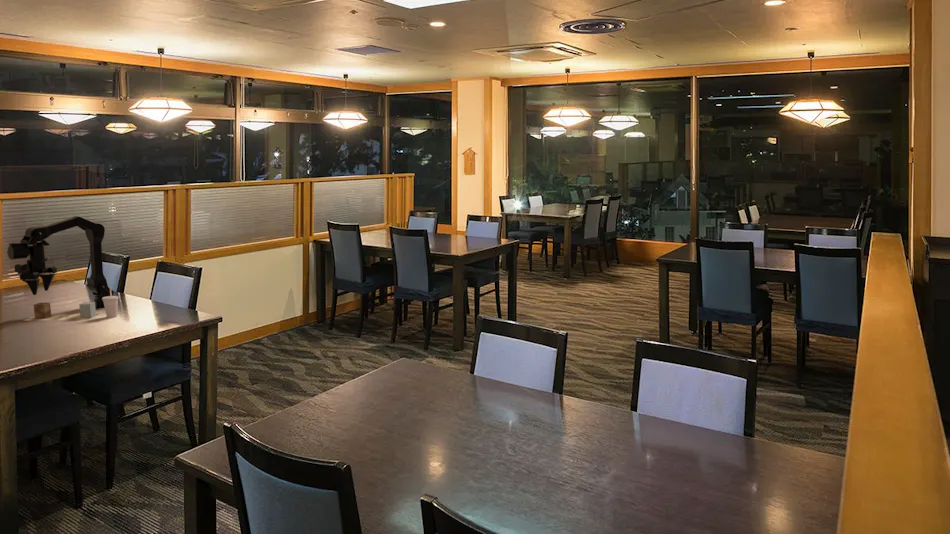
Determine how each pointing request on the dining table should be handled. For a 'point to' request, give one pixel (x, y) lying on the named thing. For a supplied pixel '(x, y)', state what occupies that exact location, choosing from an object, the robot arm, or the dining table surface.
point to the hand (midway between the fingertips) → (40, 292)
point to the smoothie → (110, 305)
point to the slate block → (87, 310)
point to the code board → (59, 317)
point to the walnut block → (42, 310)
